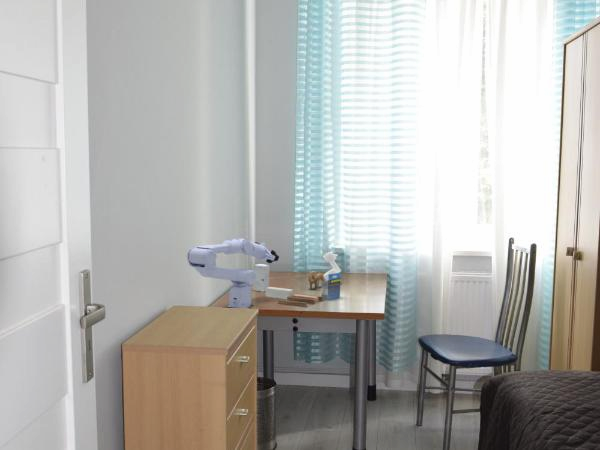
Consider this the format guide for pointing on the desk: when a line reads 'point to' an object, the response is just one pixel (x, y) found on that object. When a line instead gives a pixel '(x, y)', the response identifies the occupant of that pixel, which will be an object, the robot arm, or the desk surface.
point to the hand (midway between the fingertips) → (271, 255)
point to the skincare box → (261, 277)
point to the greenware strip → (278, 292)
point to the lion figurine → (315, 279)
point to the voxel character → (330, 258)
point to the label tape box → (331, 287)
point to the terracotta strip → (306, 297)
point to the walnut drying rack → (300, 301)
